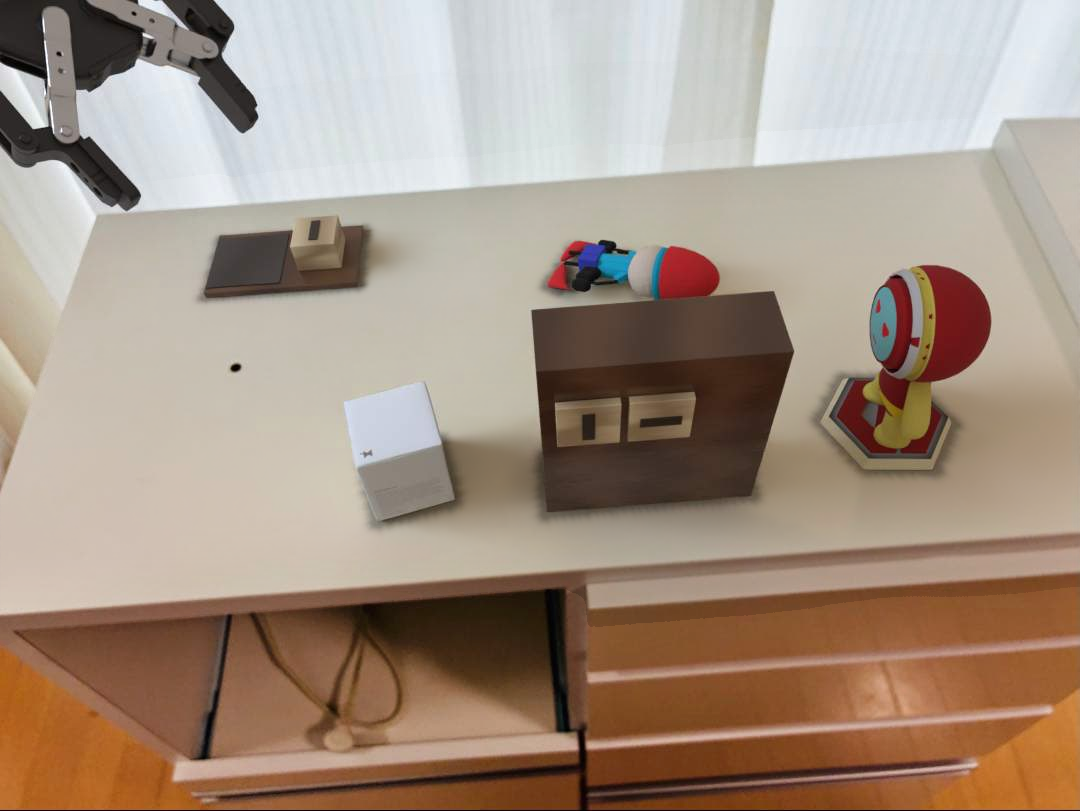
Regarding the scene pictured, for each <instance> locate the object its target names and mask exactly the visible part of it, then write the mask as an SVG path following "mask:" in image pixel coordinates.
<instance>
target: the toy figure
mask: <svg viewBox="0 0 1080 811" xmlns="http://www.w3.org/2000/svg"><path fill="white" fill-rule="evenodd" d="M613 252H616V253H617V254H615V253H614V254H613ZM576 256H578V257H577V261H569V260H570V259H572V258H574V257H576ZM559 261H560V262H562V263H560V264H559V266H557V268H556V269H555V270H554V272H553V273H552V275H551V276H550V278H549V280H548V282H547V284H546V285H547V286H548V287H550V288H553V289H558V290H569V289H570V288H569V287H568V285H567V283H568V282H567V267H569V266H570V267H577V268H578V272H576V274H575V278H573V280H571V283H570V285H571V288H572V290H573V291H574V292H580V293H588V292H589V291H591V288H592V285H595V286H596V287H597V286H608V285H615V284H617V285H621V284H622V283H624V282H625V281H626V282H629V285H630V287H631V288H632V290H633V291H634V292H635V293H636V294H637V295H639V296H641V297H643V298H653V300H663V299H676V298H689V297H702V296H712V294H714V292H715V291H716V290H717V289H718V287H719V285H720V282H721V281H720V280H721V275H720V272H719V271H718V268H717V266H716V265H715V263H713V261H711V260H710V259H709V258H707V257H706V256H705V255H703V254H700V253H699V252H697V251H695V250H691V249H688V248H687V247H683V246H682V247H681V246H675V245H670V246H669V247H665V246H662V245H654V244H653V245H647V246H645V247H643V248H641V249H640V250H639V251H637V250H629V249H623V248H617V243H616V242H615V241H613V240H608V239H600V240H599V241H598V242H597V243H595V242H590V241H584V240H574V241H573V242H571V243H570V244H569V246H568V247H567V248H566V249H565V250H564V252H563V253H562V255H561V257H560V260H559ZM600 278H605V279H611V280H602V281H601V280H600V281H596V280H599V279H600Z"/></svg>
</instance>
